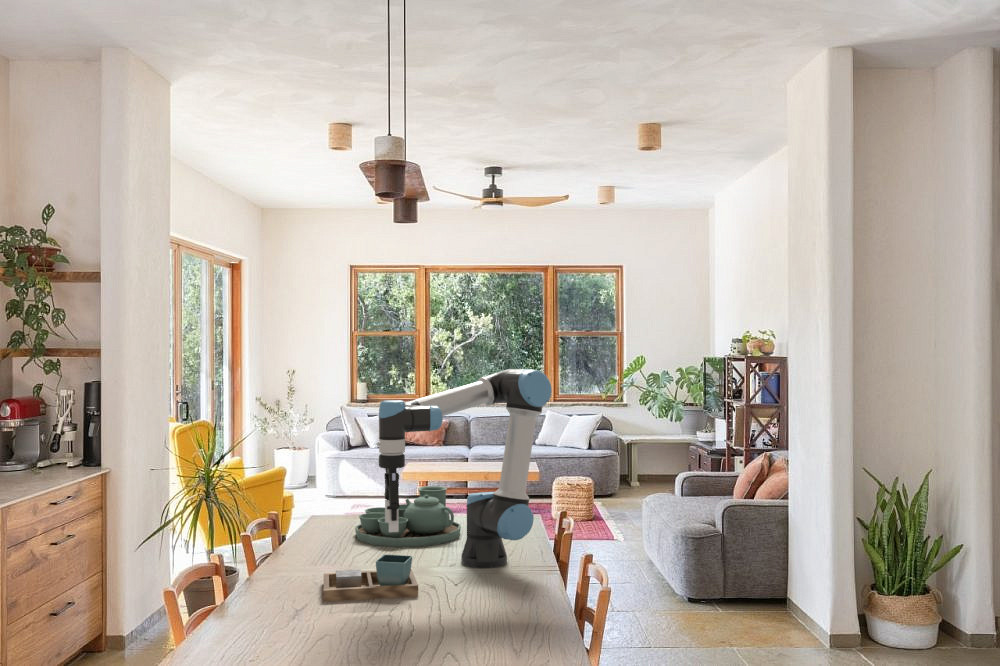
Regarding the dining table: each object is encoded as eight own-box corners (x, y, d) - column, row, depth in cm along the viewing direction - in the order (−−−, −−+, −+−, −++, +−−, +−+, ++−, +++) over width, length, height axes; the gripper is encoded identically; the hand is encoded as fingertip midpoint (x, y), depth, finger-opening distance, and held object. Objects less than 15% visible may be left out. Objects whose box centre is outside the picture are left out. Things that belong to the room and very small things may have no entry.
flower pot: (412, 586, 242) (412, 555, 243) (404, 594, 234) (405, 562, 234) (383, 584, 244) (383, 554, 244) (374, 593, 235) (375, 561, 235)
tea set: (371, 524, 336) (371, 483, 336) (468, 527, 331) (468, 485, 331) (340, 546, 296) (341, 500, 297) (450, 550, 292) (450, 503, 292)
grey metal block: (360, 586, 241) (360, 569, 241) (361, 593, 235) (361, 575, 235) (335, 588, 240) (336, 570, 240) (336, 594, 233) (336, 577, 233)
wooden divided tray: (411, 582, 250) (411, 568, 250) (418, 599, 232) (418, 585, 232) (323, 586, 245) (323, 573, 245) (323, 605, 227) (323, 590, 227)
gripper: (376, 448, 252) (375, 518, 252) (381, 459, 228) (381, 536, 227) (400, 448, 254) (400, 517, 253) (409, 458, 230) (408, 535, 229)
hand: (391, 527), depth 240 cm, fingers open, 13 cm apart
